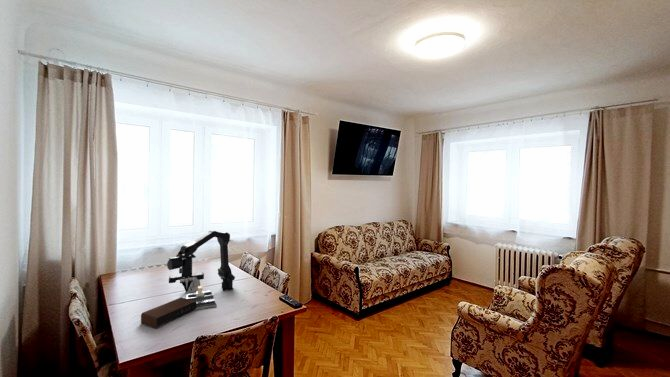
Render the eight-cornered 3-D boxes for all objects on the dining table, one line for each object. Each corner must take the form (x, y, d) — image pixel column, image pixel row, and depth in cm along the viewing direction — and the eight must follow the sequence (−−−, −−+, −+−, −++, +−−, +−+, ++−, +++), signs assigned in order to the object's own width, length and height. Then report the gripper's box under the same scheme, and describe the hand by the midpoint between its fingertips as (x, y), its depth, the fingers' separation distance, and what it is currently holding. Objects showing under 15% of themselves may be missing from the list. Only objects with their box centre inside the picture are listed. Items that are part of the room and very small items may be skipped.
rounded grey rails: (216, 304, 170) (216, 302, 170) (216, 307, 167) (216, 305, 167) (184, 309, 163) (184, 307, 163) (184, 312, 159) (184, 310, 159)
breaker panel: (213, 293, 187) (213, 287, 187) (215, 303, 171) (215, 298, 171) (185, 297, 180) (185, 291, 180) (185, 308, 164) (185, 302, 164)
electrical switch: (186, 294, 184) (186, 279, 185) (183, 293, 188) (182, 278, 188) (201, 290, 192) (200, 276, 192) (197, 289, 195) (197, 275, 195)
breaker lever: (203, 295, 178) (203, 285, 178) (204, 297, 174) (204, 287, 174) (196, 296, 176) (196, 286, 176) (196, 298, 172) (196, 288, 172)
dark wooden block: (156, 330, 141) (156, 318, 140) (140, 324, 145) (141, 313, 145) (196, 310, 162) (196, 300, 162) (182, 306, 167) (182, 296, 167)
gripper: (203, 261, 183) (203, 285, 183) (170, 264, 175) (169, 289, 175) (204, 265, 173) (203, 291, 174) (168, 269, 165) (168, 295, 165)
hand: (186, 291), depth 172 cm, fingers closed
